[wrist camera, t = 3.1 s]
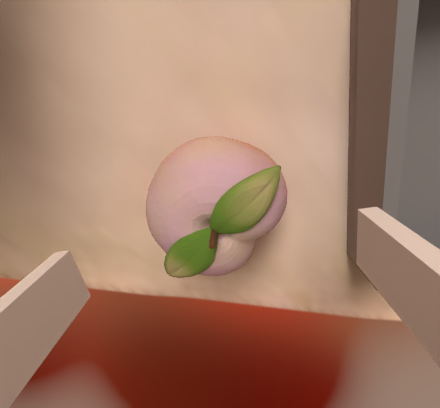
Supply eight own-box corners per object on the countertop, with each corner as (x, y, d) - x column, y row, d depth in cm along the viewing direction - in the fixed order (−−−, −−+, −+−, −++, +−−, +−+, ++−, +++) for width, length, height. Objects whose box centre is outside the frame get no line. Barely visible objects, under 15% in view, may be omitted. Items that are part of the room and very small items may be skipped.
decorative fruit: (202, 103, 19) (178, 104, 9) (287, 161, 20) (339, 211, 11) (147, 200, 22) (89, 271, 13) (225, 244, 23) (224, 337, 14)
